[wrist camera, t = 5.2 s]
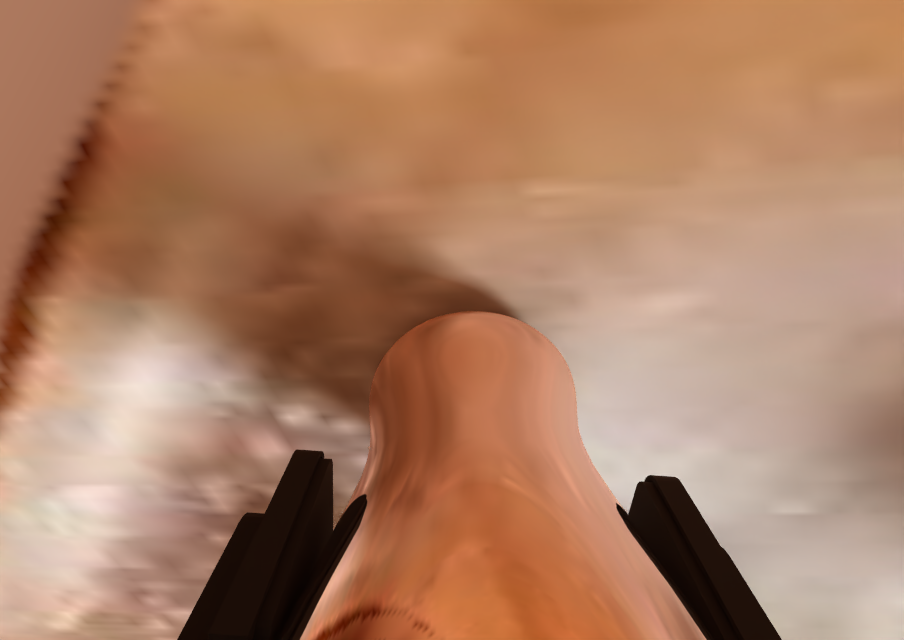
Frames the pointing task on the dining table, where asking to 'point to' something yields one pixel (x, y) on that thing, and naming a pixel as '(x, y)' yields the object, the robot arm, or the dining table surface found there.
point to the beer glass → (484, 508)
